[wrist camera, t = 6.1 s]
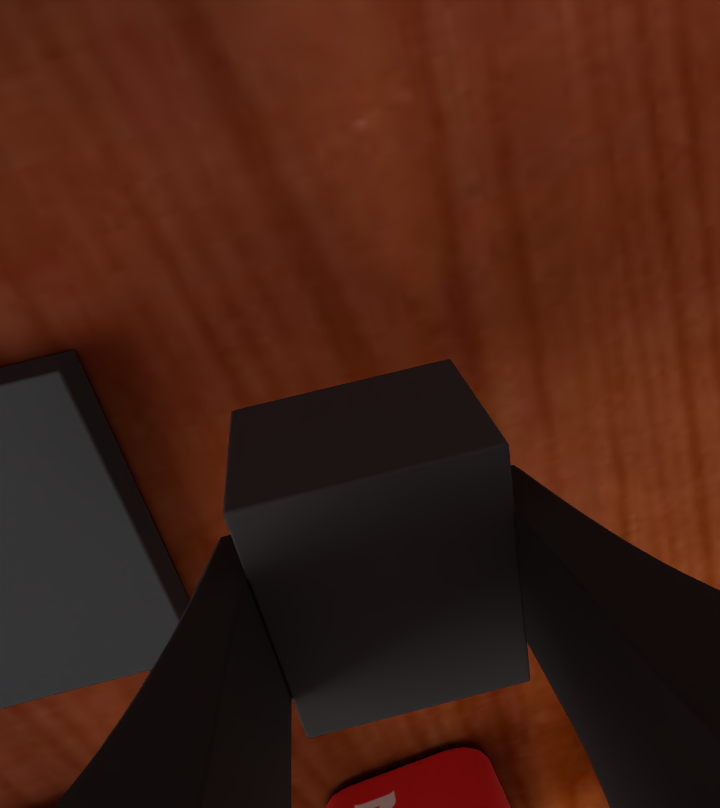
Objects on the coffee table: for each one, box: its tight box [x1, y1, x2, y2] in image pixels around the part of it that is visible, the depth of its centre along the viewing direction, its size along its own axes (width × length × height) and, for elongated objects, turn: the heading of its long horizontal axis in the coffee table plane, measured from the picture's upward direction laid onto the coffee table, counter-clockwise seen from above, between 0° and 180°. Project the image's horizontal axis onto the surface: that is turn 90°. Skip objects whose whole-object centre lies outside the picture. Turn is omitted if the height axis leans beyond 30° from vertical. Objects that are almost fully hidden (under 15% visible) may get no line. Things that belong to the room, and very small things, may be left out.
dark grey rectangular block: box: [223, 359, 530, 738], centre depth 11 cm, size 4×5×3 cm
